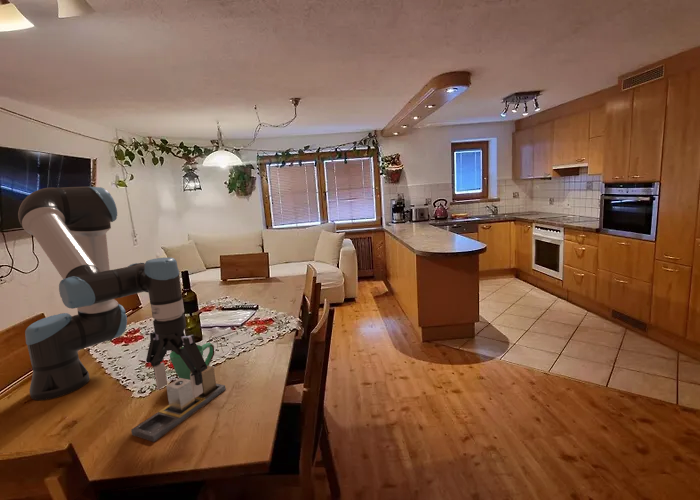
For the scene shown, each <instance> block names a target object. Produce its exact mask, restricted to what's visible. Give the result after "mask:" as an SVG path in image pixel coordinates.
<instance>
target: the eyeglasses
mask: <svg viewBox="0 0 700 500" xmlns="http://www.w3.org/2000/svg"><path fill="white" fill-rule="evenodd" d="M235 332H236V335H239V333H238V331H237V330H233V331H231V332H228V333H225V334H221V335H218V336H216V337H212V336H210V337H209V338H208V339H209V340H208V341H209V342H208V343H211V342H210V341H211V340H212V341H213V340H214V341H216V344H217V345H216V349H215V351H217V350H218V347H219V345H220V347H221V351H222V352H224V351H223V347H222V346H223V345H222V343H227V341H224V340H223V341H220V342H221V343H219V340H218V339H219V338H221V337H223V336H226V335H230V334H232V333H235ZM259 339H261V341H262V342H263V341H264V338H263V337H262V336H259V337H257V338H254V339H252V340H249V341H247V342H244V343H242V344H239V345H235V344H234V343H233V342H231V341H228V343H230V344H232V345H233V347H234V349H236V348H238V347H241V346H242V345H245V344H248V343H251V342H253V341H256V340H259ZM233 354H236V351H234V352H233Z"/></svg>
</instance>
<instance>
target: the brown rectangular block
mask: <svg viewBox="0 0 700 500" xmlns="http://www.w3.org/2000/svg"><path fill="white" fill-rule="evenodd" d="M190 374H192V372H190ZM215 374H216V373H215V366H212V365H211V366H210V365H209V366H207V369H206V370H204V371H203V372H202V379H203V382H202V387H203V393H202V394H200V395H199V396H201V397H206V396H208V395H209V394H210V393H212V392H213V391H215V390H216V389H217V388H216V384H217V382H216V375H215Z"/></svg>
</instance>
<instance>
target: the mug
mask: <svg viewBox="0 0 700 500" xmlns="http://www.w3.org/2000/svg"><path fill="white" fill-rule="evenodd" d="M196 345H197V347H198V349H199V351H200V353H201V355H202V357H203V358H204V355H203V354H204V351H205V350H206V349H207V348H209V351H208V354H207V356H206V359H205V360H204V361H205V363H206V365H207V366H210V364H211V362H212V361H213V358H214V356H215V345H214V344H213V343H211V342H210V343H209V342H206V343H204V344H202V345H200V344H196ZM182 348H184V346H182ZM182 348H181V349H182ZM169 358H170V361H171V364H172V366H173V368H174V371H175V373H176V375H177V377H178V379H179V378H183V379H188V380H191V379H190V372H191V371H190V369H189V368H188V367H187V365H186V364H185V362H184V361H183V359H182V358H181V357H180V355H177V354H176V353H175V352H173V351H171V352H170V353H169Z"/></svg>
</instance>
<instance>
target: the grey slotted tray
mask: <svg viewBox="0 0 700 500" xmlns="http://www.w3.org/2000/svg"><path fill="white" fill-rule="evenodd" d="M216 388H217V389H216V390H215V391H213V392H212V393H210V394H209V395H208V396H206V397H201V396H197V397H196V398H195V404H194V405H193V406H191V407H190V408H189V409H187V410H186V411H184V412H183V413H182V414H180V413H176V412H172V411H170V407H169V404H168V405H166V406H165V407H163V408H162V409H160V410H159V411H158V412H156V413H154V414H153V415H151V416H150V417H148V418H147V419H145V420H144V421H142V422H141V423H139V424H137V425H136V426H135V427H133V428H132V429H131V430H130V431H131V435H132V436H133V437H138V438H140V439H144V440H146V441H149V442H152V443H155V442H156V441H158V440H159V439H161V438H162V437H164V436H165V435H167V433H168V432H170V431H172V429H174V428H176V427H177V426H178V425H180V424H182V422H183V421H185V420H187V419H188V418H190V417H191V416H192V415H193V414H195V413H196V412H198V411H199V410H200V409H201V408H203V407H204V406H206V405H207V404H208V403H210V402H211V401H212V400H214V399H215V398H216V397H218V396H219V395H221V394H222V393H224V392H225V391H227V388H226V385H225V384H221V383H220V384H219V383H216Z"/></svg>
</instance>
